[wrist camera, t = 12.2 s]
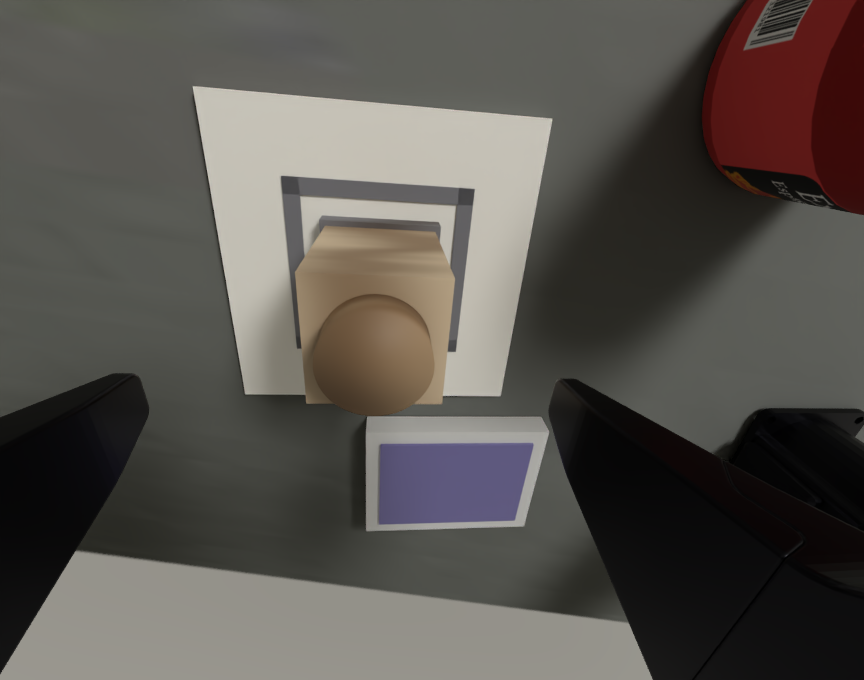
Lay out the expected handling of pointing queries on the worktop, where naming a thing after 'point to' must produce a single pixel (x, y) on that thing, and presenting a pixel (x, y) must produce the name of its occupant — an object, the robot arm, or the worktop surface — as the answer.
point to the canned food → (791, 102)
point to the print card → (368, 213)
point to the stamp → (374, 314)
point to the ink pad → (451, 471)
